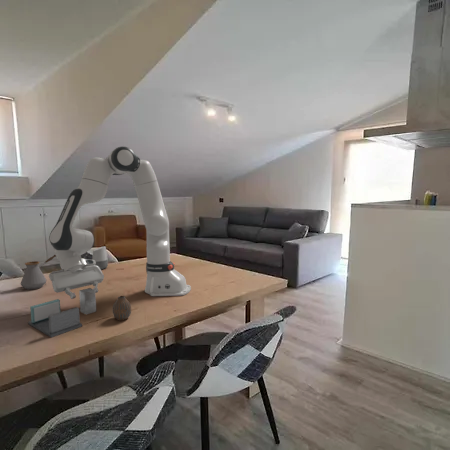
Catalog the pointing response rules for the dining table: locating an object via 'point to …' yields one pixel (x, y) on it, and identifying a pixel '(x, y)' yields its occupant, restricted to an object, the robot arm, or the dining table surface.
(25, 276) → the coffee pot
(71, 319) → the vise
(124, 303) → the vase
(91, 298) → the steel block
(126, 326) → the dining table surface
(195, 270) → the dining table surface
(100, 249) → the smart speaker
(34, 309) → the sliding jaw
